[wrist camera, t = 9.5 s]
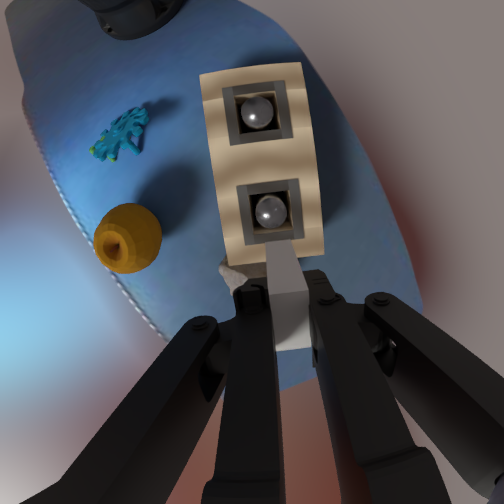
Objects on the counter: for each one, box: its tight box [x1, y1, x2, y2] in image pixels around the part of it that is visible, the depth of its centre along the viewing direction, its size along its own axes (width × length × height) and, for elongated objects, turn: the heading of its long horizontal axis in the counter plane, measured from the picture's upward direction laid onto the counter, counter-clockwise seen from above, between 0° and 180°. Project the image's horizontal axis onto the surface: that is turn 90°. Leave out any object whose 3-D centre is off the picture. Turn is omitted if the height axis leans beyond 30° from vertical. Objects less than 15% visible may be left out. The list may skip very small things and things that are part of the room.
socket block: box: [199, 62, 324, 266], centre depth 34 cm, size 24×12×8 cm, turn 8°
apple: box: [93, 203, 162, 274], centre depth 36 cm, size 10×10×12 cm
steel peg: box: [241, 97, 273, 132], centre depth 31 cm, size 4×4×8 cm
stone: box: [219, 255, 267, 296], centre depth 41 cm, size 10×8×6 cm
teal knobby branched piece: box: [89, 107, 149, 162], centre depth 35 cm, size 11×6×10 cm
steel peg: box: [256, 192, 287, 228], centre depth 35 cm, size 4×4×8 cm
